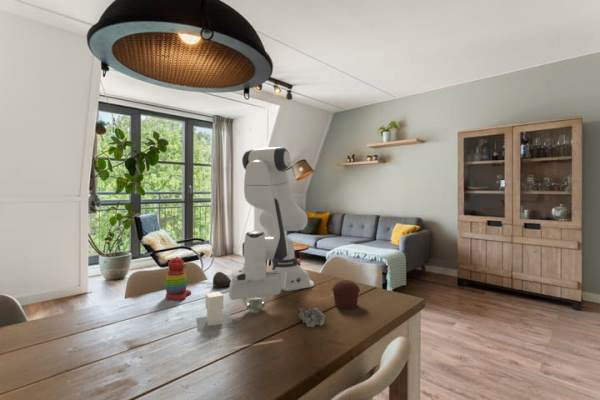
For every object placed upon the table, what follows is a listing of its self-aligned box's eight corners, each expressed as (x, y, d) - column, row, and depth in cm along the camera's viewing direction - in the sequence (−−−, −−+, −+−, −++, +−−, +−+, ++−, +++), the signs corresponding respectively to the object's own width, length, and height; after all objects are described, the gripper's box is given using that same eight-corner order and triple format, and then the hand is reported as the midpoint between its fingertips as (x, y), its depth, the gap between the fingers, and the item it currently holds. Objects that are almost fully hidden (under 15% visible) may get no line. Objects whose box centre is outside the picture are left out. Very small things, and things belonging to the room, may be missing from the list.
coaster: (229, 315, 121) (229, 313, 121) (233, 328, 109) (233, 326, 109) (196, 319, 117) (196, 318, 117) (197, 333, 106) (197, 331, 106)
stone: (224, 290, 165) (209, 277, 163) (235, 278, 164) (220, 266, 162) (220, 299, 155) (205, 286, 153) (232, 287, 154) (216, 274, 153)
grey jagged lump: (297, 317, 120) (297, 306, 119) (315, 314, 122) (315, 304, 122) (307, 328, 109) (306, 317, 109) (326, 325, 112) (326, 314, 112)
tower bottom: (221, 318, 116) (221, 305, 116) (222, 323, 112) (222, 309, 112) (207, 320, 115) (206, 306, 115) (207, 325, 110) (207, 311, 110)
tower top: (219, 304, 116) (219, 291, 116) (223, 309, 112) (223, 295, 112) (205, 307, 114) (205, 293, 114) (209, 311, 110) (209, 297, 110)
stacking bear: (183, 300, 137) (183, 260, 137) (160, 300, 137) (159, 260, 137) (192, 293, 148) (192, 255, 148) (171, 292, 148) (170, 255, 148)
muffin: (350, 299, 139) (350, 276, 139) (365, 307, 129) (365, 283, 128) (327, 303, 134) (327, 279, 134) (340, 312, 124) (340, 286, 124)
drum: (260, 309, 127) (260, 296, 127) (263, 313, 122) (263, 300, 122) (248, 310, 126) (248, 298, 125) (250, 315, 121) (250, 302, 121)
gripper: (278, 268, 130) (278, 302, 130) (228, 273, 123) (228, 308, 124) (283, 272, 124) (283, 307, 124) (230, 277, 117) (230, 313, 118)
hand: (255, 307), depth 124 cm, fingers closed on drum, 5 cm apart
